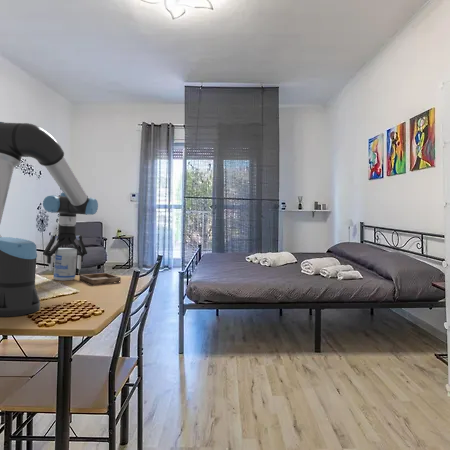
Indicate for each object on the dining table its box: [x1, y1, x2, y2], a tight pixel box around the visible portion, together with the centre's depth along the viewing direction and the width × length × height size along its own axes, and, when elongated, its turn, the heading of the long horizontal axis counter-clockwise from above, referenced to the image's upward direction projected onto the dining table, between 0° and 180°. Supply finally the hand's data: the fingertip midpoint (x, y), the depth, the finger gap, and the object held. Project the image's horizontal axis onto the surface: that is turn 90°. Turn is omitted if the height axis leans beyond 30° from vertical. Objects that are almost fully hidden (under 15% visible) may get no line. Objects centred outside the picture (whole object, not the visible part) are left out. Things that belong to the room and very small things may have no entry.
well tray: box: [78, 272, 122, 286], centre depth 169 cm, size 14×14×2 cm
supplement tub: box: [53, 247, 78, 282], centre depth 168 cm, size 10×10×15 cm
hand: (65, 269), depth 168 cm, fingers open, 12 cm apart
